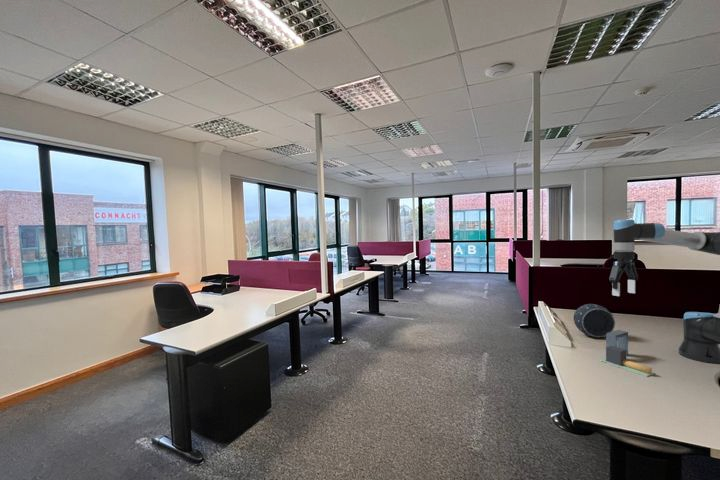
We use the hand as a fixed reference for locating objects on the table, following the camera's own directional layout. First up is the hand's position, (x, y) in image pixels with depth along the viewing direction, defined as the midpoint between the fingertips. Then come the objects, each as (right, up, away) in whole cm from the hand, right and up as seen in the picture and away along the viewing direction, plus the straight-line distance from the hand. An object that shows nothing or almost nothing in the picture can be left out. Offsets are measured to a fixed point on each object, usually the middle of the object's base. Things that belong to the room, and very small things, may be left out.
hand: (623, 294), depth 142 cm
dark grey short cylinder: (+17, -34, +39) cm, 54 cm away
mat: (-1, -35, -2) cm, 35 cm away
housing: (+5, -34, +10) cm, 36 cm away
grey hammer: (-1, -34, -3) cm, 34 cm away
